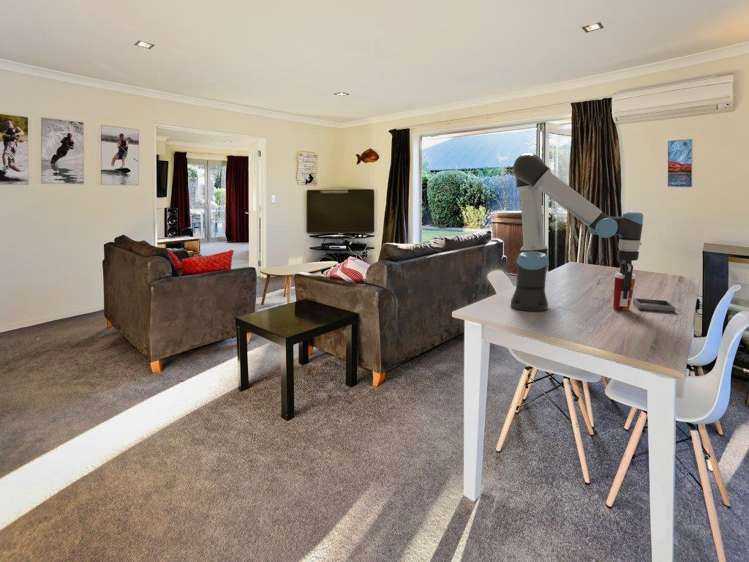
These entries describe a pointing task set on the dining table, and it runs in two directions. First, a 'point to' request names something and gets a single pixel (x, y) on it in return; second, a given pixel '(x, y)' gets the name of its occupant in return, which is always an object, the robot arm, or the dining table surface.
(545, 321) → the dining table surface
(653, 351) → the dining table surface
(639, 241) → the robot arm
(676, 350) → the dining table surface
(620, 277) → the coffee cup
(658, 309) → the grey square tray
